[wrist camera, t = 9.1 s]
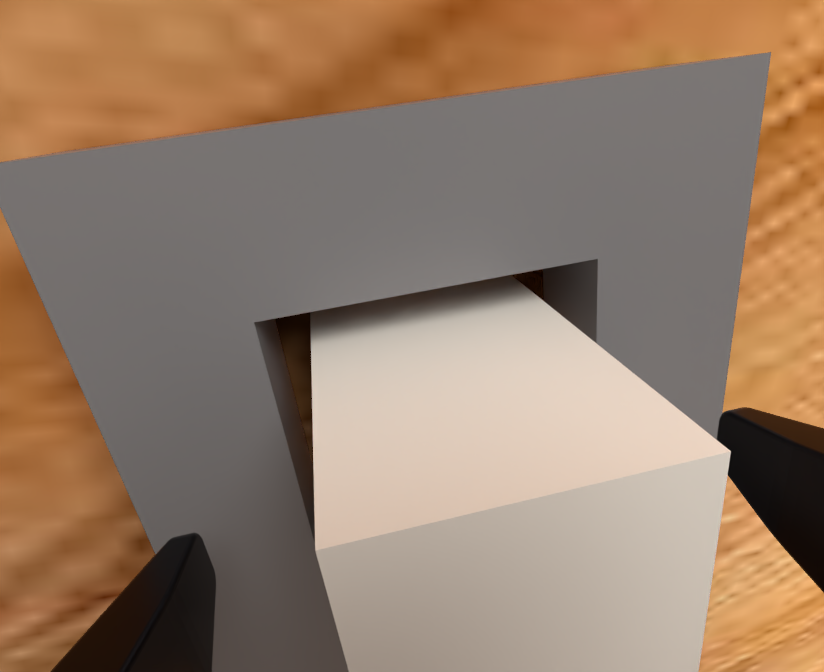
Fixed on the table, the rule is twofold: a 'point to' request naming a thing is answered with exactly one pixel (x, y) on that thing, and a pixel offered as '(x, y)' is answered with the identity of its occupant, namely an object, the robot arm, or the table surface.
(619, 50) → the table surface
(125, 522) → the table surface
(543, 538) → the plug
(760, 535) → the table surface
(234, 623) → the socket block
